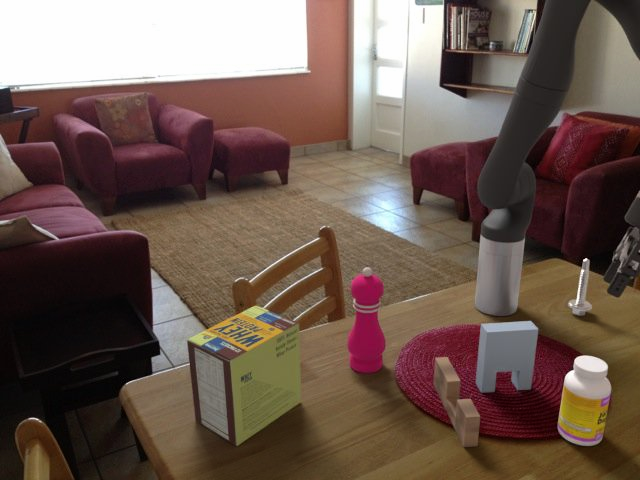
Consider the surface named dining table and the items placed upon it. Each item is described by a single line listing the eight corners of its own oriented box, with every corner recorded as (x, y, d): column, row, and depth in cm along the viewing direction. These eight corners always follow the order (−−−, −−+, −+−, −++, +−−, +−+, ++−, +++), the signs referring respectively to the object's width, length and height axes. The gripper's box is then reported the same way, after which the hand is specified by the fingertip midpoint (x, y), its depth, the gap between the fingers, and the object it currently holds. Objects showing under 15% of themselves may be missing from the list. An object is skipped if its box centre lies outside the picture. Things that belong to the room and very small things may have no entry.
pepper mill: (390, 359, 117) (393, 263, 110) (377, 378, 111) (379, 278, 104) (355, 351, 120) (356, 257, 113) (341, 369, 114) (340, 271, 107)
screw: (567, 316, 133) (566, 306, 137) (591, 319, 131) (589, 309, 136) (575, 261, 128) (574, 253, 133) (600, 264, 127) (598, 255, 131)
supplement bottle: (598, 453, 92) (611, 380, 87) (552, 438, 95) (563, 367, 91) (605, 429, 97) (618, 359, 93) (561, 415, 100) (572, 347, 96)
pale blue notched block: (481, 392, 107) (487, 332, 103) (475, 383, 110) (480, 323, 105) (530, 389, 107) (538, 329, 103) (523, 379, 110) (531, 320, 106)
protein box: (302, 401, 105) (300, 321, 100) (236, 448, 94) (229, 361, 89) (260, 380, 111) (255, 303, 106) (193, 421, 100) (184, 338, 95)
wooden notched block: (433, 384, 109) (435, 357, 107) (445, 383, 110) (447, 356, 108) (463, 447, 93) (466, 417, 92) (477, 446, 94) (480, 416, 92)
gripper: (632, 190, 107) (587, 269, 112) (643, 199, 94) (591, 288, 99) (675, 208, 105) (627, 288, 110) (692, 220, 92) (636, 310, 97)
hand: (610, 288), depth 105 cm, fingers open, 8 cm apart
